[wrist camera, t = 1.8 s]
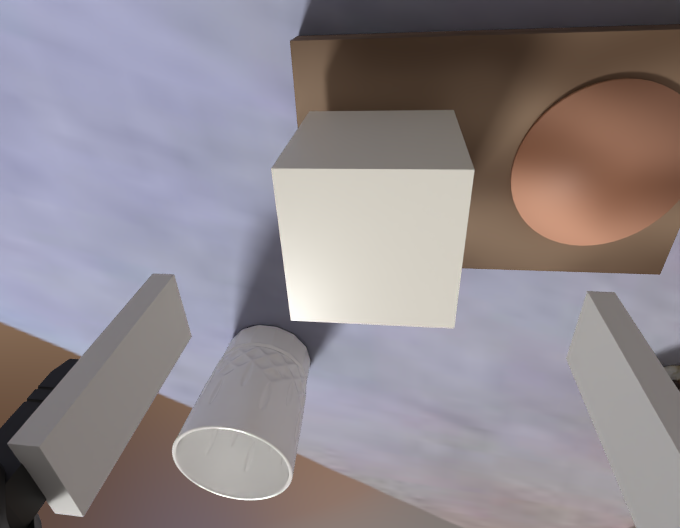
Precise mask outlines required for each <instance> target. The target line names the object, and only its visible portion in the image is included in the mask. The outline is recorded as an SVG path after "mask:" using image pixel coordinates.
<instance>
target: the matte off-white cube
mask: <svg viewBox="0 0 680 528" xmlns="http://www.w3.org/2000/svg"><path fill="white" fill-rule="evenodd" d="M271 171H272V178H273V186H274V194H275V202H276V209H277V217H278V225H279V232H280V240H281V248H282V256H283V263H284V271H285V279H286V287H287V294H288V302H289V310H290V318H291V321H309V322H330V323H351V324H372V325H393V326H413V327H434V328H454V325H455V318H456V310H457V302H458V294H459V286H460V279H461V271H462V263H463V255H464V248H465V240H466V232H467V224H468V217H469V209H470V201H471V193H472V186H473V178H474V167H473V164H472V161H471V158H470V155H469V152H468V150H467V147H466V144H465V141H464V138H463V135H462V132H461V129H460V127H459V124H458V121H457V118H456V115H455V112H454V110H394V111H309V113H308V114H307V116H306V117H305V119H304V120H303V122H302V123H301V125H300V126H299V128H298V129H297V131H296V132H295V134H294V135H293V137H292V138H291V140H290V141H289V143H288V144H287V146H286V147H285V149H284V150H283V152H282V153H281V155H280V156H279V158H278V159H277V161H276V162H275V164H274V165H273V167H272V168H271Z"/></svg>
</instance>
